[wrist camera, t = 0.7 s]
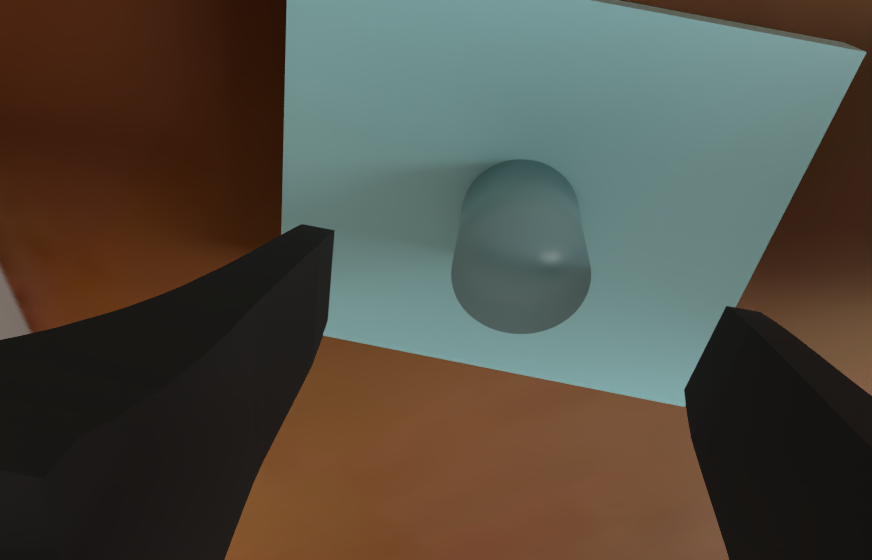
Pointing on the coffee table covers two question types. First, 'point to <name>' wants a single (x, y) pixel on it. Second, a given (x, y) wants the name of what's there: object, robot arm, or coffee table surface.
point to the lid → (547, 175)
